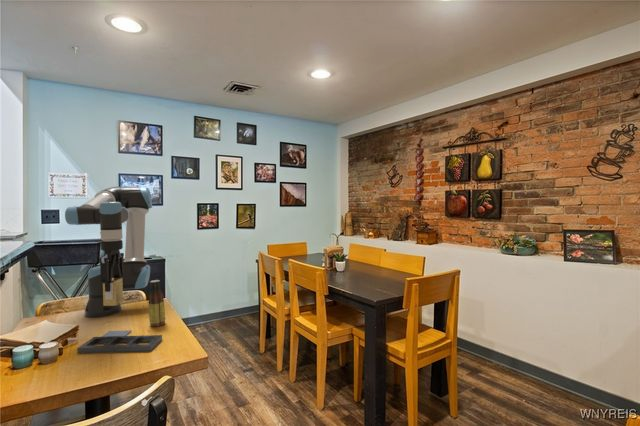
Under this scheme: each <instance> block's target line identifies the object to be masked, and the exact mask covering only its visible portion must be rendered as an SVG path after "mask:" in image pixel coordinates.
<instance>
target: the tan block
mask: <svg viewBox="0 0 640 426" xmlns="http://www.w3.org/2000/svg"><path fill="white" fill-rule="evenodd" d="M111 283H113V299H107V300H105V284H104V283H103V306H116V305H118V304H122V303H123V302H124V294H123V293H124V290H123V282H122V278H112V281H111Z"/></svg>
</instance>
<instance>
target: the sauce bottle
mask: <svg viewBox="0 0 640 426" xmlns="http://www.w3.org/2000/svg"><path fill="white" fill-rule="evenodd" d="M149 285H150V293H149V295H148V314H149V315H148V316H149V317H148V318H149V324H150V326H151V327H154V328H156V327H161V326H163V325H165V323H166V312H165V298H164V293H163V291H162V290H161V280H159V279H153V280H149Z"/></svg>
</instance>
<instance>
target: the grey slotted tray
mask: <svg viewBox="0 0 640 426" xmlns="http://www.w3.org/2000/svg"><path fill="white" fill-rule="evenodd" d="M162 341H163V335H162V334H155V335H152V334H151V335H149V334H148V335H127V336H107V337H101V336H93V337H92V338H90V339H88V340H87V341H85V342H84V343H82V344H81V345H80V346H77V349H76V351H77V352H76V353H77V354H101V353H102V354H103V353H104V354H106V353H108V354H109V353H137V352H139V353H141V352H147V353H148V352H152V351H153V350H155V348H156V347H157V346H158V345H159V344H160V343H161V342H162ZM139 343H140V344H139ZM141 343H142V344H141ZM144 343H145V344H144ZM97 344H100V345H97ZM102 344H104V345H102Z"/></svg>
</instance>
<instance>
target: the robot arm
mask: <svg viewBox="0 0 640 426" xmlns="http://www.w3.org/2000/svg"><path fill="white" fill-rule="evenodd" d="M152 208H153V201H152V193H151V191H150V189H149V188H148V187H147V186H113V187H112V186H111V187H108V188H104V189H103V190H100V191H98V192H97V193H95V195H94V197H93V198H91V199H90V200H88V201H86V202H85V203H83V204H81V205H80V206H76V205H75V206H69V207H67V208H66V209H65V211H64V218H65V222H66V223H67V224H68V225H69V226H71V225H72V226H73V225H75V226H76V225H77V226H81V225H84V226H85V225H99V226H100V232H99V234H100V240H101V241H100V250H101V251H103V252H104V253H103V257H99V264H100V265H97V266H94V267H92V268H90V269H89V270H88V272H87V274H88V275H87V276H88V277H87V281H88V282H87V284H88V288H87V289H88V300H87V303H86V305H85V308H84V316H85V317H88V318H99V317H105V316H106V317H107V316H110V315H114V314H116V313H119V312H121V310H122V305H121V304H122V303H120V304H118V305H116V306H103V283H104V284H105V300H107V299H113V283H111V281H112V278H122V282H123V291H125V290H138V289H144V288H146V287H147V286H148V284H149V282H150V275H151V266H150V265H149V264H148V262H147V260H146V259H145V236H146V235H145V232H146V231H145V229H146V216H147V214H148V213H149V210H150V209H152ZM125 222H126V224H125V225H126V227H125V228H126V229H125V230H126V231H125V248H124V249H125V250H124V252H121V251H120V250H122V249H123V245H124V243H123V240H122V239H123V224H124V223H125Z"/></svg>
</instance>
